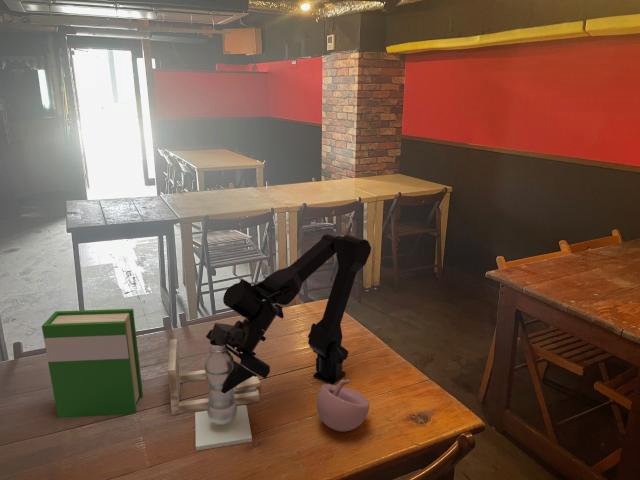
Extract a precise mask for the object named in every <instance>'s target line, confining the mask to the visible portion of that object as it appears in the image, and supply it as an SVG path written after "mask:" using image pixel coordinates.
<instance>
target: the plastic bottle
mask: <svg viewBox="0 0 640 480" xmlns="http://www.w3.org/2000/svg"><path fill="white" fill-rule="evenodd" d="M208 343H209V344H208V345H209V346H208V347H209V348H208V349H209V354H207V357H206V358H205V361H204V370H205V371H206V376H207V379H206V380H207V386H208V398H209V402H208V408H207V409H206V411H207V414H208V417H209V420H210V421H211V422H212V423H214V424H216V425H226V424H229V423H231V422H232V421H233V420H234V419H235V417H236V414H237V406H238V405H236V401H235V397H234V390H233V389H231V390H229V391H228V392H226V393H222V392H221V390H222V388H223V386H224V384H225V382H226V381H227V379H228V377H229V376H230V374H231V372H232V370H233V361H235V359H234V356H233V355H232V353H231V352H230V351H229V352H228V351H227V349H228V347H227V344H226V345H222V344H219V343H217V341H216V340H215V339H212V340H209V342H208Z"/></svg>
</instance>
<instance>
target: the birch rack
mask: <svg viewBox="0 0 640 480" xmlns="http://www.w3.org/2000/svg"><path fill="white" fill-rule="evenodd" d="M177 339H178V338H172V339H170V341H169V351H168V353H169V354H168V363H167V364H168V366H167V375H168V377H167V378H168V386H169V388H168V389H169V396H170V397H169V398H170V409H171V415H172V416H173V415H179V414H185V413H191V412H192V413H193V412H200V411H207V408H208V402H209V397H208V398H200V399H192V400H186V401H180V396H181V394H180V392H181V384H182V383H190V382H196V381H197V382H198V381H206V380H207V376H206V371H205V369H200V370H194V371H193V370H191V371H186V372H185V371H184V372H181V371H180V363H179V361H180V360H179V352H178V351H179V349H178V340H177ZM234 397H235V401H236V405H237V406H242V405H246V404H247V405H248V404H253V403H259V402H260V392H259V393H258V391H257V392H249V393H242V394H235V395H234Z"/></svg>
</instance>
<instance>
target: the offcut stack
mask: <svg viewBox="0 0 640 480" xmlns="http://www.w3.org/2000/svg"><path fill="white" fill-rule="evenodd" d="M260 386H261V381H260V380H259V378H258V375H257V376H256V377H255V376H253V377H251V378H249V379H247V380H245V381H244V382H242V383H240V384H239V385H237V386H236V387H234V388H233V390H234V395H235V394H242V393H249V392H257V391H258V393H259V394H260V391H259V387H260Z"/></svg>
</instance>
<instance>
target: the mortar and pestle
mask: <svg viewBox="0 0 640 480" xmlns="http://www.w3.org/2000/svg"><path fill="white" fill-rule="evenodd" d="M350 383H351V380H350V379H349V378H348V379H339V382H338V384H337V385H335V384H330V383H327V384H322V385H321V387H320V389H319V390H318V392H317V396H316V411H317V413H318V416H319V418H320V420H321V421H322V422H323V424H325V425H326V426H327V427H329V428H330V429H332V430H334V431H337V432H348V431H352V430H354V429H357V428H359V426H360V425H361V424H363V422H364V421H365V420H366V419H367V416H368V414H369V409H370V403H369V401H368V399H367V398H366V397H365V396H364V395H363V394H361V393H360V392H359V391H357V390H353V389H351V388H348V387H344V386H345V385H349V384H350Z"/></svg>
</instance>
